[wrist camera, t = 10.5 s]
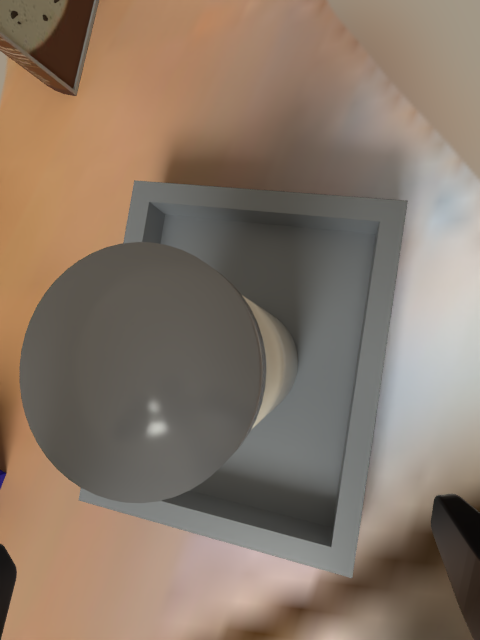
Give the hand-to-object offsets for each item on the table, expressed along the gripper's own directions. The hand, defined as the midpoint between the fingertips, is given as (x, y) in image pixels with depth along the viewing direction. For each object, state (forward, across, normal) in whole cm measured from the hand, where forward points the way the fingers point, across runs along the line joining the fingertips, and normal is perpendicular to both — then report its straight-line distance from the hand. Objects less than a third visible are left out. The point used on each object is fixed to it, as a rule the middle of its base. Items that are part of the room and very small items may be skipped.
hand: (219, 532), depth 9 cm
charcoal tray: (+13, -1, +4) cm, 14 cm away
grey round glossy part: (+12, -1, +4) cm, 13 cm away
